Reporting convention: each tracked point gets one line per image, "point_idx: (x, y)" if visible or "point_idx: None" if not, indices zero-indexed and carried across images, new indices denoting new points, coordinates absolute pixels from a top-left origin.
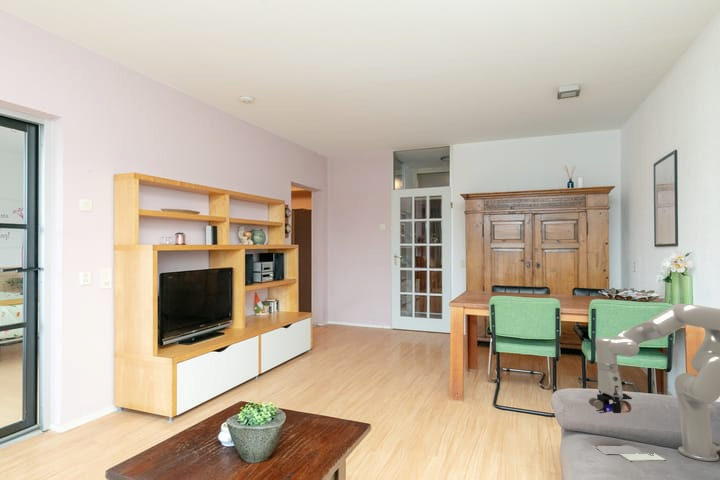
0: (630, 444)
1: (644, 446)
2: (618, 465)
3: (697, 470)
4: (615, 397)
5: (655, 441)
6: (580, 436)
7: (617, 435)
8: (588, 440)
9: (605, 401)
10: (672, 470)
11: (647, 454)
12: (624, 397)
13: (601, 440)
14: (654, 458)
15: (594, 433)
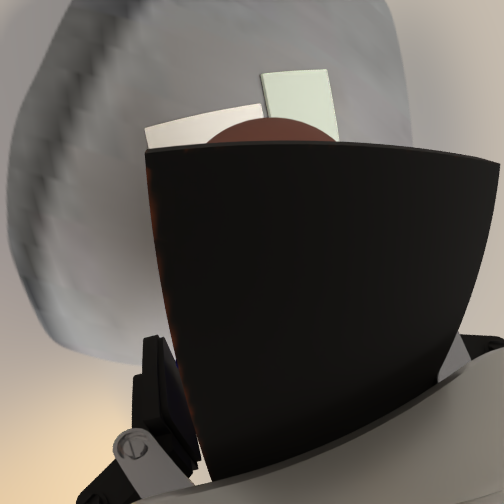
0: (133, 130)
1: (152, 72)
2: None
3: (378, 24)
4: (404, 402)
5: (80, 8)
6: (88, 333)
7: (19, 161)
8: (128, 313)
9: (182, 415)
10: (393, 102)
11: (282, 112)
12: (461, 287)
13: (108, 258)
14: (323, 107)
15: (24, 265)
